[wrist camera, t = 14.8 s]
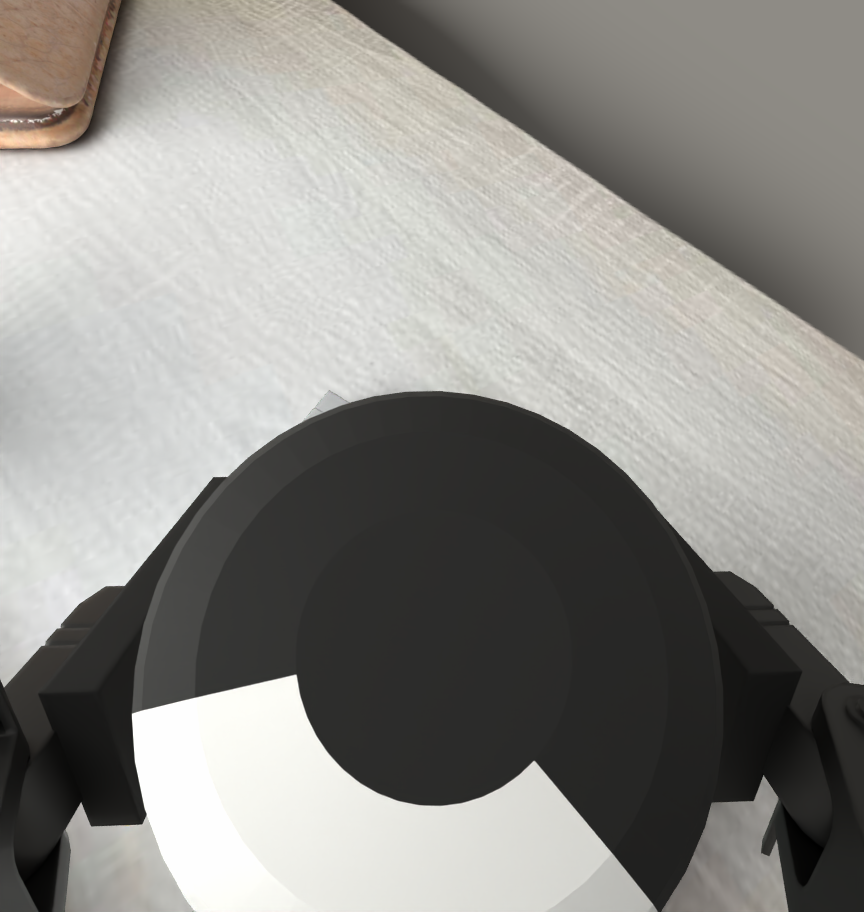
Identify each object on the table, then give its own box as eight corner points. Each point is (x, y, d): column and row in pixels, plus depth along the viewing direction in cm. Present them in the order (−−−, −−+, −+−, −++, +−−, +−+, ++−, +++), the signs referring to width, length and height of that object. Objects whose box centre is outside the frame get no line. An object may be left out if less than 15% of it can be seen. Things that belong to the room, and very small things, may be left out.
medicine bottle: (350, 517, 17) (232, 256, 6) (557, 577, 17) (833, 408, 6) (266, 749, 15) (-190, 1011, 4) (509, 829, 14) (847, 1428, 3)
